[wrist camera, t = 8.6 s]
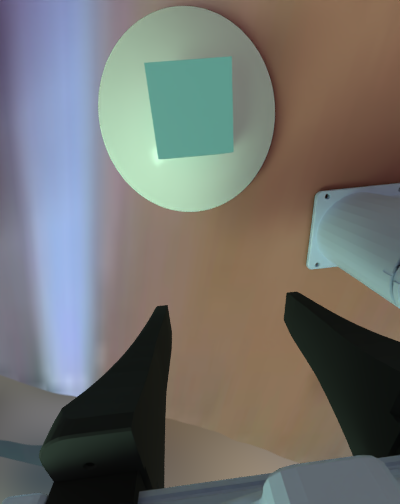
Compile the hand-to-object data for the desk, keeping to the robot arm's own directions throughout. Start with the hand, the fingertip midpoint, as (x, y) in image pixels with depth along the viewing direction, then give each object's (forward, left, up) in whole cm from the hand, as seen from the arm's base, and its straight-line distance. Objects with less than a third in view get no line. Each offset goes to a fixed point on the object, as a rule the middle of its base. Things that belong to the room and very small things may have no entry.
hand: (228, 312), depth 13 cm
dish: (+1, -11, -9) cm, 14 cm away
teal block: (+1, -11, -8) cm, 14 cm away
